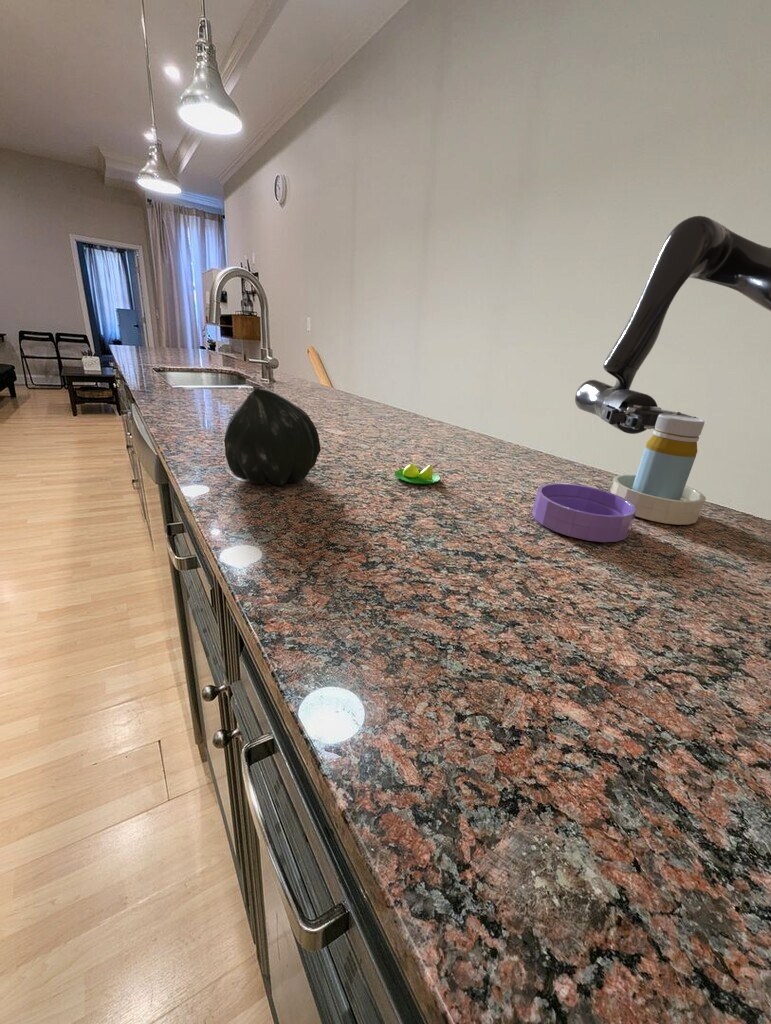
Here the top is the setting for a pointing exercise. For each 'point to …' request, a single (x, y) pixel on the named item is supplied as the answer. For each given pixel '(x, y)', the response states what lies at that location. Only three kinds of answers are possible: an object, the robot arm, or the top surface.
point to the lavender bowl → (583, 512)
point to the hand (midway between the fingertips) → (666, 426)
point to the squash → (270, 440)
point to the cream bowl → (660, 503)
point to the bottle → (668, 456)
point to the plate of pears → (417, 475)
